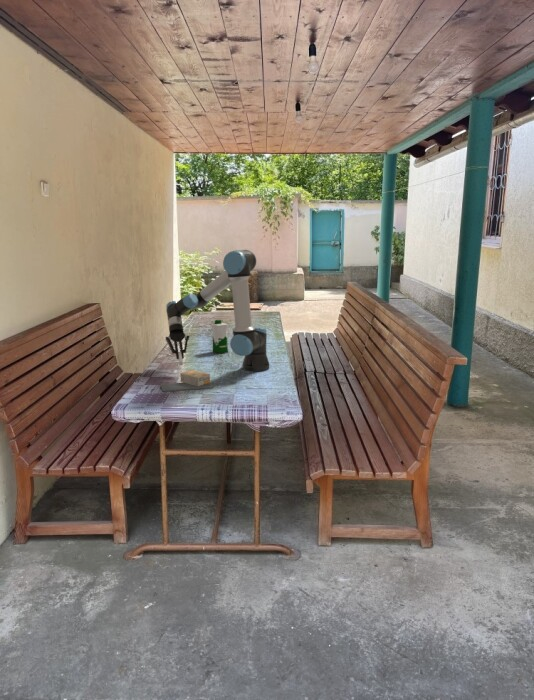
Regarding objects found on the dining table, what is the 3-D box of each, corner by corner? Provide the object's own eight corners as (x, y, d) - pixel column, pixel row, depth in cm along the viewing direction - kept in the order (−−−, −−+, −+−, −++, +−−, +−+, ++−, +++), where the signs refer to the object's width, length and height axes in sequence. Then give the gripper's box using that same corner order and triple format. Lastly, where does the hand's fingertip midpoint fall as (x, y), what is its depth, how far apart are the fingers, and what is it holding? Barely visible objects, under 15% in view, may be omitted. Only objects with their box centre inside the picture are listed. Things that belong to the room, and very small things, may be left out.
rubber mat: (208, 381, 266) (208, 380, 266) (213, 388, 255) (213, 387, 255) (160, 385, 260) (160, 384, 259) (162, 392, 248) (162, 390, 248)
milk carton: (222, 350, 339) (222, 319, 335) (230, 352, 332) (229, 321, 327) (210, 351, 334) (210, 320, 330) (218, 354, 327) (217, 322, 322)
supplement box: (192, 369, 268) (210, 373, 260) (192, 378, 269) (210, 383, 261) (179, 372, 262) (198, 377, 254) (180, 381, 263) (198, 386, 255)
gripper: (187, 330, 292) (192, 366, 280) (163, 331, 288) (167, 368, 276) (188, 322, 286) (194, 359, 274) (164, 323, 282) (168, 360, 270)
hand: (181, 363), depth 275 cm, fingers closed
